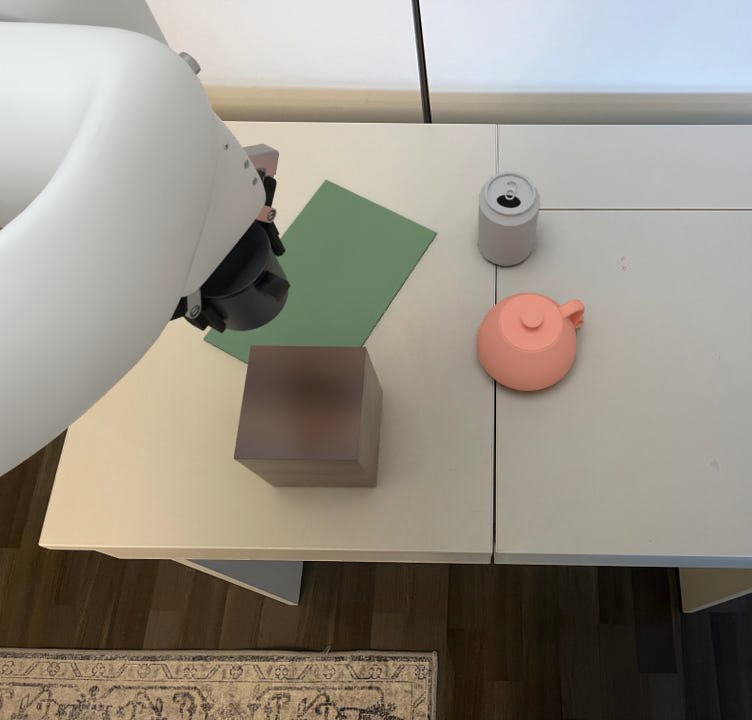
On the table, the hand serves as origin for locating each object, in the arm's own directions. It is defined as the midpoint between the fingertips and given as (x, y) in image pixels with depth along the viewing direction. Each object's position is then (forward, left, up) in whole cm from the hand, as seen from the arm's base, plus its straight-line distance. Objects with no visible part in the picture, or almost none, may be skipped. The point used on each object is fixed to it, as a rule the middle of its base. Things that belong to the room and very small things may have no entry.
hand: (239, 283), depth 53 cm
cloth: (+14, +8, -30) cm, 34 cm away
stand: (-3, -4, -30) cm, 30 cm away
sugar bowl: (+19, -20, -30) cm, 41 cm away
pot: (0, 0, -2) cm, 2 cm away
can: (+31, -10, -30) cm, 44 cm away
